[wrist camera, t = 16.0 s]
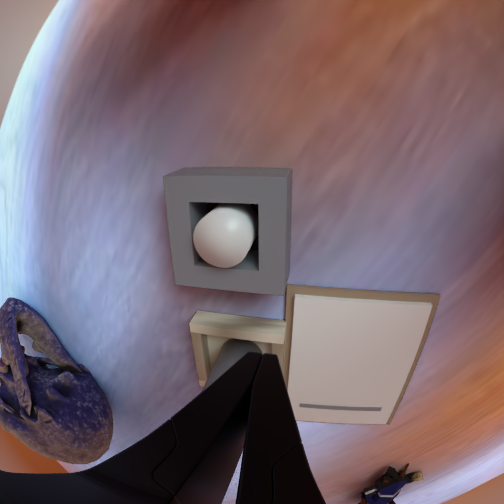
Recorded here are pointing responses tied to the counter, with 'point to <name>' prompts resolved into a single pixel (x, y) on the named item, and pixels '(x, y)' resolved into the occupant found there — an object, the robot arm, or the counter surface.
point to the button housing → (231, 191)
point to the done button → (226, 234)
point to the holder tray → (233, 326)
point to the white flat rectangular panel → (352, 351)
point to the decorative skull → (49, 393)
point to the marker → (230, 357)
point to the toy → (388, 486)
